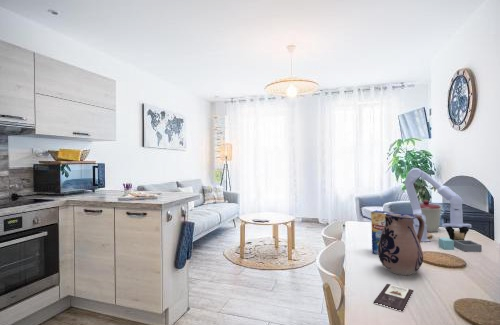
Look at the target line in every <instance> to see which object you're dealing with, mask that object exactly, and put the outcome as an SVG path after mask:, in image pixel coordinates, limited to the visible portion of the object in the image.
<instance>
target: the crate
mask: <svg viewBox="0 0 500 325" xmlns="http://www.w3.org/2000/svg"><path fill="white" fill-rule="evenodd" d="M454 248H456V249H457V250H460V251H462V252H464V253H465V252H468V253H469V252H470V253H471V252H473V253H475V252H479V253H481V252H483V250H482V244H480V243H477V242H475V241H472V240H468V239H467V240H466V239H464V240H454Z"/></svg>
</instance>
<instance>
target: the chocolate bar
mask: <svg viewBox="0 0 500 325" xmlns="http://www.w3.org/2000/svg"><path fill="white" fill-rule="evenodd" d="M412 292H413V293H414V289H410V288H406V287H402V286H397V285H395V284H391V283H386V284H385V286H384V287H383V289H381V291H380V293H379V294H378V295H377V296H376V298H375V299H374V301H373V304H374V303H378V304H382V305H385V306H388V307H391V308H394V309H397V310H401V311H403V310H404V311H405V309H406V307H407V305H406V304H408V303H409V301H408V300H410V299H409V298H411V297H410V296H412V295H413V293H412ZM411 294H412V295H411ZM407 302H408V303H407ZM405 306H406V307H405ZM404 308H405V309H404ZM394 309H393V310H394ZM397 310H396V311H397ZM404 311H403V312H404Z"/></svg>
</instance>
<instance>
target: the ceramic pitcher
mask: <svg viewBox="0 0 500 325" xmlns="http://www.w3.org/2000/svg"><path fill="white" fill-rule="evenodd" d="M385 215H386V216H385V221H386V223H385V226H384V228H383V230H382V233H381V237H380V241H379V245H378V259H379V261H380V263H381V265H382V266H383V267H384V268H385V269H386V270H387V271H389V272H391V273H392V274H396V275H399V276H410V275H411V274H412V275H413V274H414V273H417V271H419V270H420V269H421V267H422V264H423V262H424V253H423V249H422V246H421V242H422V241H421V239H422V235H423V231H424V221H423V219H422V216H420V215H417V214H413V213H402V212H397V213H386V214H385ZM415 218H417V219H418V221H419V230H418V234H417V235H416V232H415V229H414V226H413V223H414V219H415Z"/></svg>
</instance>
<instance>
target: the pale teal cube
mask: <svg viewBox="0 0 500 325" xmlns="http://www.w3.org/2000/svg"><path fill="white" fill-rule="evenodd" d="M438 247H439V248H441V249H442V250H443V251H444V250H447V251H448V250H449V251H454V250H455V247H454V241H453V240H451V239H450V237H438Z"/></svg>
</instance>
